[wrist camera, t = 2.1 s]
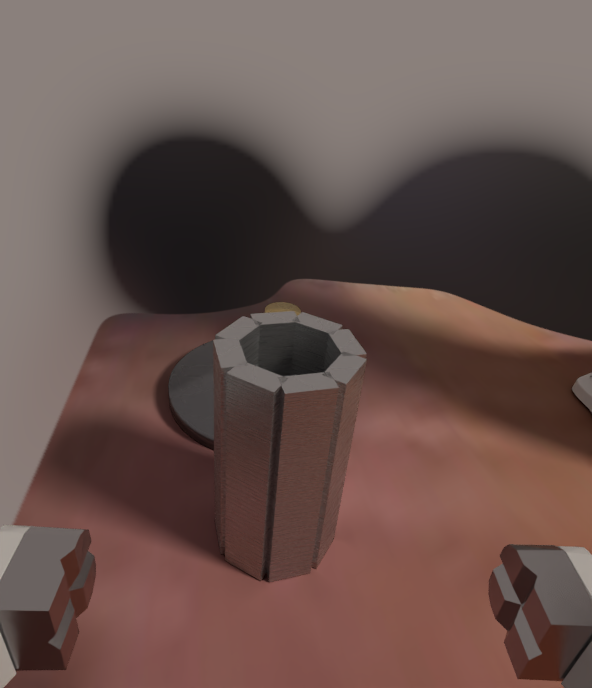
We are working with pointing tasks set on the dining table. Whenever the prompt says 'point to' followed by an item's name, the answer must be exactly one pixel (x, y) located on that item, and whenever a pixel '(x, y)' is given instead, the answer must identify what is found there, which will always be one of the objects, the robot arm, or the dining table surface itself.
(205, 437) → the grey pot lid
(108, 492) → the dining table surface
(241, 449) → the octagonal pipe segment
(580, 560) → the robot arm
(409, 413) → the dining table surface
